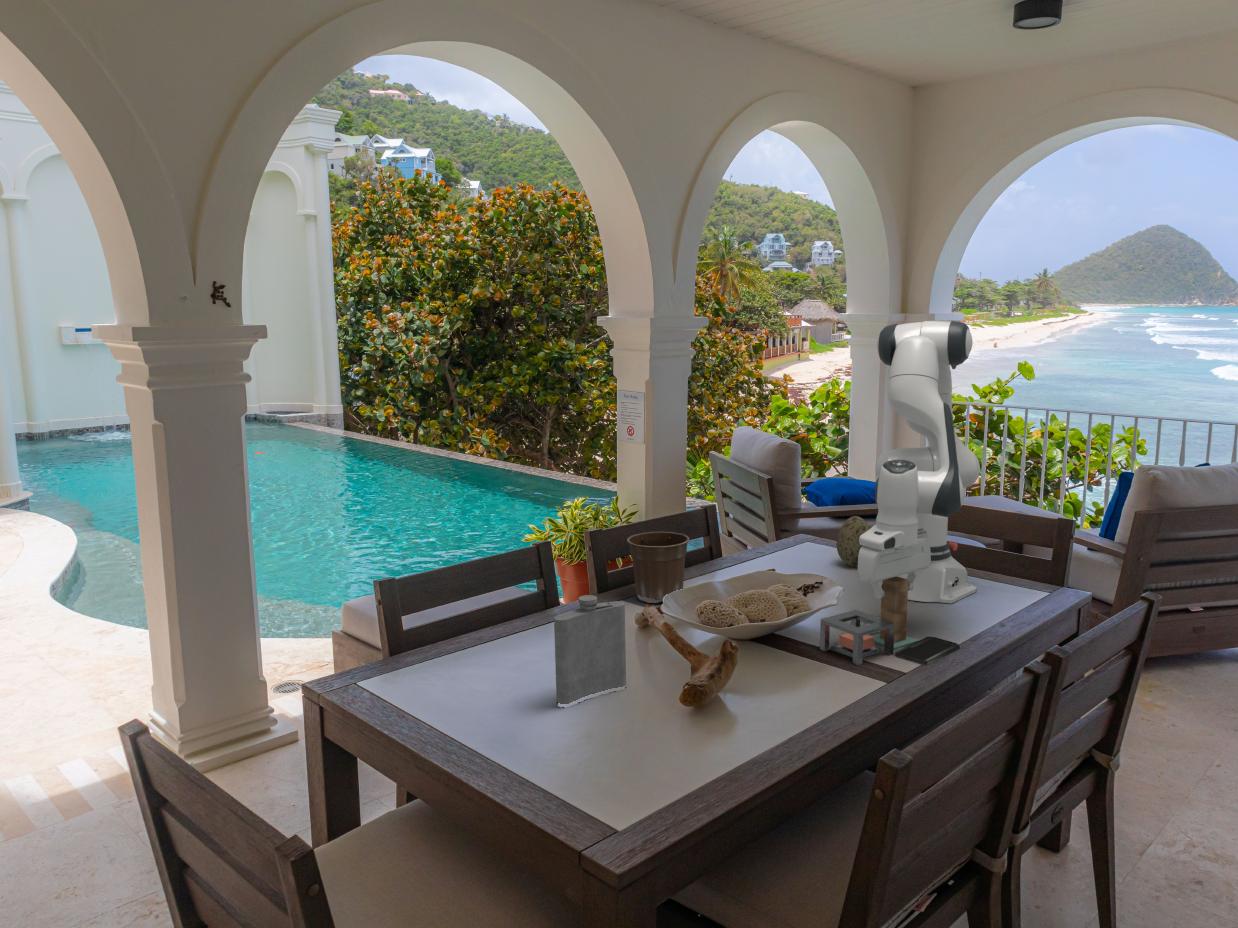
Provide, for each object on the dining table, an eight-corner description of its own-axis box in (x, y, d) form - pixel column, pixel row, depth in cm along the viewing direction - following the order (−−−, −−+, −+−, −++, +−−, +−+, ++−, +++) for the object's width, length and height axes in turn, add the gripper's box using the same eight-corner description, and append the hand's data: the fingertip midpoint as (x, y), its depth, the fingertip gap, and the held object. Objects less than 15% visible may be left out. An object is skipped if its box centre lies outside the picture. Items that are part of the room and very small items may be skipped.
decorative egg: (833, 560, 265) (834, 512, 262) (870, 561, 263) (871, 512, 261) (838, 571, 254) (840, 520, 252) (877, 571, 253) (878, 520, 251)
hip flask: (562, 709, 166) (559, 608, 163) (551, 702, 170) (547, 603, 167) (629, 687, 176) (627, 591, 173) (617, 681, 179) (615, 586, 176)
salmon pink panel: (855, 639, 196) (856, 630, 196) (873, 646, 192) (874, 637, 191) (839, 644, 193) (839, 635, 193) (857, 651, 189) (857, 641, 188)
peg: (892, 634, 201) (894, 575, 199) (906, 639, 198) (908, 579, 196) (879, 637, 199) (881, 578, 197) (893, 643, 196) (895, 582, 193)
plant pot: (616, 601, 230) (615, 541, 228) (647, 585, 244) (646, 528, 241) (671, 611, 222) (670, 549, 219) (700, 593, 235) (699, 535, 233)
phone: (961, 644, 194) (925, 662, 184) (961, 649, 194) (925, 667, 184) (928, 635, 200) (892, 652, 190) (928, 640, 200) (892, 657, 190)
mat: (890, 632, 204) (890, 630, 204) (918, 642, 197) (918, 640, 197) (866, 639, 200) (866, 637, 200) (894, 649, 193) (894, 647, 193)
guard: (855, 639, 200) (855, 609, 199) (893, 653, 191) (894, 623, 190) (819, 649, 194) (820, 618, 193) (857, 665, 185) (858, 633, 184)
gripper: (916, 524, 203) (913, 581, 205) (853, 538, 192) (851, 598, 195) (939, 529, 198) (936, 588, 200) (875, 544, 187) (873, 606, 189)
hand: (894, 593), depth 197 cm, fingers open, 8 cm apart
